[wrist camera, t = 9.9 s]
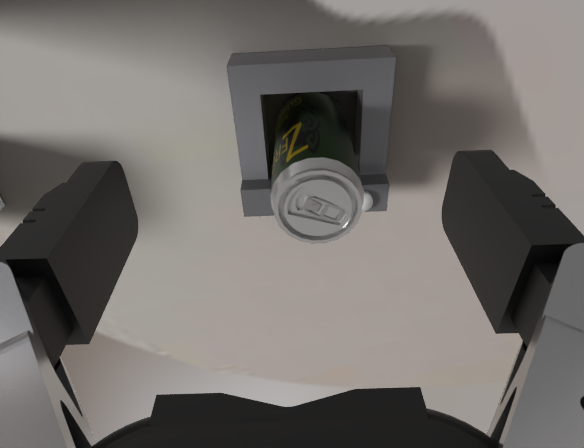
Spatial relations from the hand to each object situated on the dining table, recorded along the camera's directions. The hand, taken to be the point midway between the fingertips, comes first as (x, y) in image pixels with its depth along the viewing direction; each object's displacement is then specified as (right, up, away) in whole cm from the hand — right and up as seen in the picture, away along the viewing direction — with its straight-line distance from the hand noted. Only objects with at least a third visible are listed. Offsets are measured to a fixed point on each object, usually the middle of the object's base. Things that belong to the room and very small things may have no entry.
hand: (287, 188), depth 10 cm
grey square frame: (+2, +7, +23) cm, 24 cm away
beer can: (+2, +7, +23) cm, 24 cm away
